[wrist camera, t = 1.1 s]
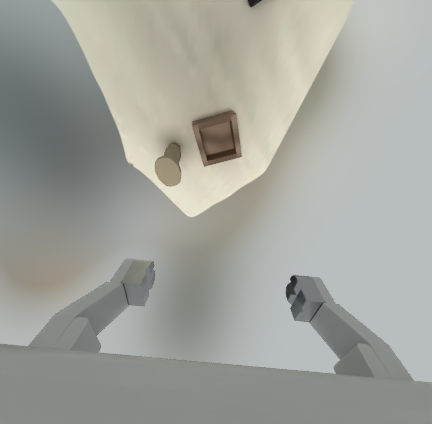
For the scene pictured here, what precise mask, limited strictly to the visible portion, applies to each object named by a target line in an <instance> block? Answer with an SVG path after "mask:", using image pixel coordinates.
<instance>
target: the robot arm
mask: <svg viewBox="0 0 432 424" xmlns="http://www.w3.org/2000/svg"><path fill="white" fill-rule="evenodd" d="M153 268H154V262H153V261H146V260H137V259H129V258H127V259H125V260H124V261H123V263H122V265H121V266H120V267H119V269H118V270H117V272H116V273H115V275H114V276H113V278H112V279H111V281H110V282H106V283H104V284H103V285H101V286H99V287H98V288H96V289H94V290H93V291H91V292H90V293H88V294H86V295H85V296H83V297H82V298H80V299H78V300H77V301H75V302H73V303H72V304H71V305H69V306H67V307H66V308H64V309H63V310H61V311H59V312H58V313H56V314H55V315H54V316H53V317H52V318H51V319H50V321H49V322H48V323H47V324H46V325H45V327H44V328H43V329H42V330H41V331H40V332H39V334H38V335H37V336H36V337H35V338H34V340H33V341H32V342H31V343H30V345H29V346H17V345H8V344H0V424H432V383H431V382H420V381H414V380H413V379H412V377H411V376H410V374H409V373H408V371H407V370H406V369H405V367H404V366H403V365H402V363H401V362H400V360H399V359H398V358H397V356H396V355H395V353H394V352H393V350H392V349H391V348H390V346H389V345H388V344H387V343H385V342H384V341H383V340H382V339H381V338H379V337H378V336H377V335H375V334H374V333H373V332H372V331H371V330H369V329H368V328H367V327H366V326H365V325H363V324H362V323H361V322H360V321H358V320H357V319H356V318H355V317H354V316H352V315H351V314H350V313H349V312H347V311H346V310H345V309H344V308H343V307H341V306H340V305H339V304H336V303H335V302H334V301H333V298H332V297H331V295H330V293H329V292H328V290H327V288H326V286H325V285H324V283H323V281H322V280H321V279H320V278H319V277H308V276H298V275H293V276H292V277H291V278H290V280H291V282H290V283H289V284H288V285H287V287H286V297H287V300H288V302H289V303H290V304H291V305H292V306H291V308H290V309H291V311H292V315H293V317H294V320H295V321H304V322H310V324H311V325H312V326H313V328H314V329H315V330H316V331H317V333H318V334H319V335H320V336H321V337H322V338H323V340H324V341H325V342H326V343H327V344H328V346H329V347H330V348H331V349H332V350H333V351H334V353H335V354H336V355H337V356H338V358H339V359H340V361H339V362H338V363H337V364H336V365H335V366H334V370H335V372H336V374H331V373H320V372H309V371H298V370H286V369H275V368H265V367H253V366H242V365H231V364H220V363H208V362H197V361H187V360H175V359H164V358H152V357H142V356H130V355H120V354H119V355H118V354H108V353H99V350H100V348H101V344H100V342H99V340H98V338H97V335H98V334H99V333H100V332H101V331H102V330H103V329H104V328H105V327H106V326H108V325H109V324H110V323H111V322H112V321H113V320H114V319H115V318H116V317H117V316H118V315H119V314H121V313H122V312H123V311H124V310H125V309H126V308H127V307H128V305H134V306H135V305H136V306H145V303H146V301H147V298H148V296H149V291H148V290H150V289H151V288H152V286H153V284H154V280H155V271H154V270H153Z"/></svg>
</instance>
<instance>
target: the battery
mask: <svg viewBox="0 0 432 424" xmlns="http://www.w3.org/2000/svg"><path fill="white" fill-rule="evenodd" d="M260 1H261V0H248V2H249V5H250V7H252V6H254V5H255V4H257V3H258V2H260Z"/></svg>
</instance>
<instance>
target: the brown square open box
mask: <svg viewBox="0 0 432 424" xmlns="http://www.w3.org/2000/svg"><path fill="white" fill-rule="evenodd" d="M192 126H193V130H194V133H195V137H196V140H197V144H198V147H199V151H200V154H201V157H202V161H203V164H204V167H205V166H208V165H212V164H216V163H220V162H224V161H227V160H231V159H235V158H239V157H242V155H241V148H240V140H239V133H238V126H237V118H236V113H234V112H233V111H229V112H226V113H222V114H219V115H215V116H211V117H208V118H204V119H201V120H197V121H193V122H192Z"/></svg>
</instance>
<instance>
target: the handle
mask: <svg viewBox="0 0 432 424" xmlns="http://www.w3.org/2000/svg"><path fill="white" fill-rule="evenodd" d="M180 157H181V152H180V147H179V146H177V145H176V143H174V144H170V145H169V146H168V148H167V149H166V151H165V154H164V156H162V157H160V158H158V159H157V160H156V162H155V172H156V174H157V176H158V178H159V180H160V181H161V182H162V183H163V184H165V185H166V186H175V185H177V184H179V183H180V181H181V169H180V166H179V161H180Z"/></svg>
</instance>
